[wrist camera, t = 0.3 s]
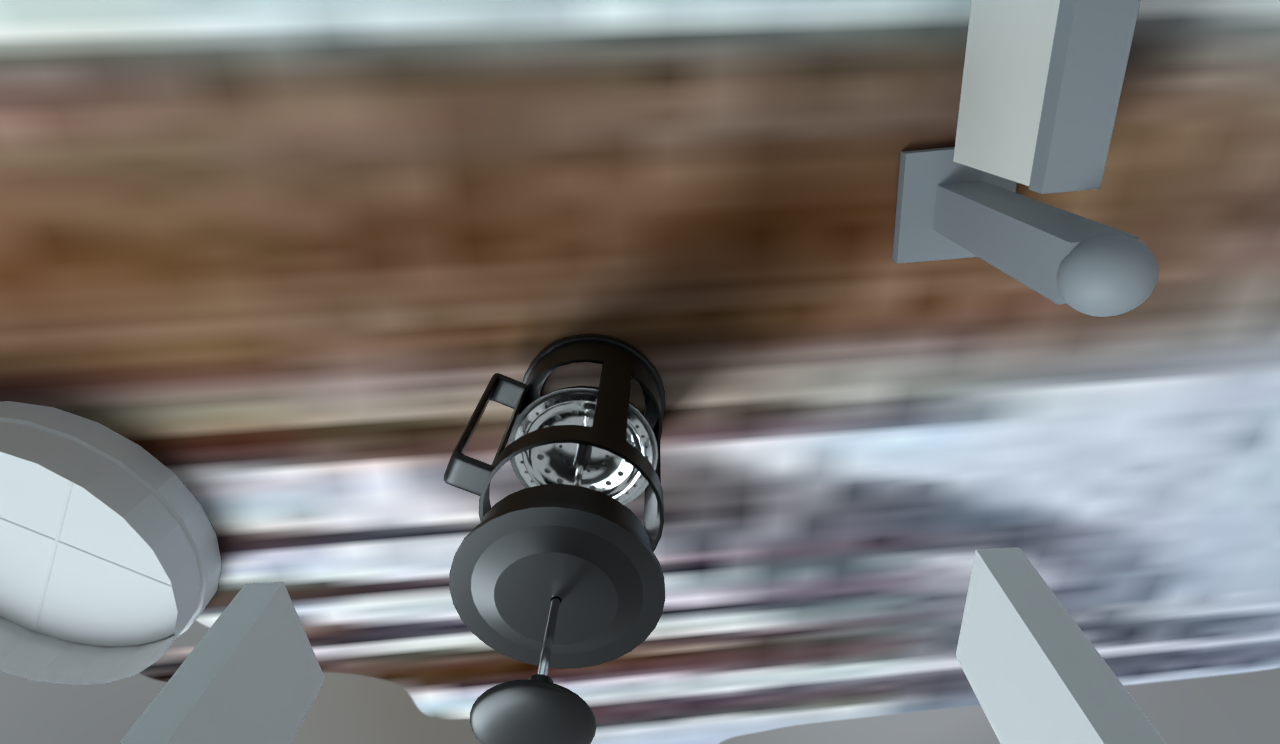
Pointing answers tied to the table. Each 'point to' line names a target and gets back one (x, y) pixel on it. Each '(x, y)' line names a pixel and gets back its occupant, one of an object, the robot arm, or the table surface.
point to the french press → (562, 536)
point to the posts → (1016, 236)
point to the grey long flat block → (1043, 89)
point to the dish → (93, 550)
